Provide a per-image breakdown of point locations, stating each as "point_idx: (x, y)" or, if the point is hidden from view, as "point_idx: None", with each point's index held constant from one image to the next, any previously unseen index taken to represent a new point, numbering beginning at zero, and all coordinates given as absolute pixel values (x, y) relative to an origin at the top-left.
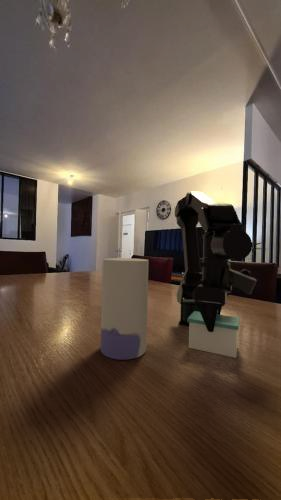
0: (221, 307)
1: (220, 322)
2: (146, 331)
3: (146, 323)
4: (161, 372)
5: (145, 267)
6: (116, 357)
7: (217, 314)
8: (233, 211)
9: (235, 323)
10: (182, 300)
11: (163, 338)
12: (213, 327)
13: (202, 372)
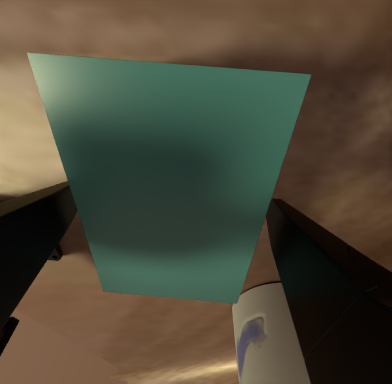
0: (4, 215)
1: (249, 192)
2: (289, 329)
3: (301, 356)
4: (366, 246)
5: None
6: None
7: (81, 208)
8: None
9: (235, 97)
10: (3, 336)
11: None
12: (299, 213)
13: (364, 173)
